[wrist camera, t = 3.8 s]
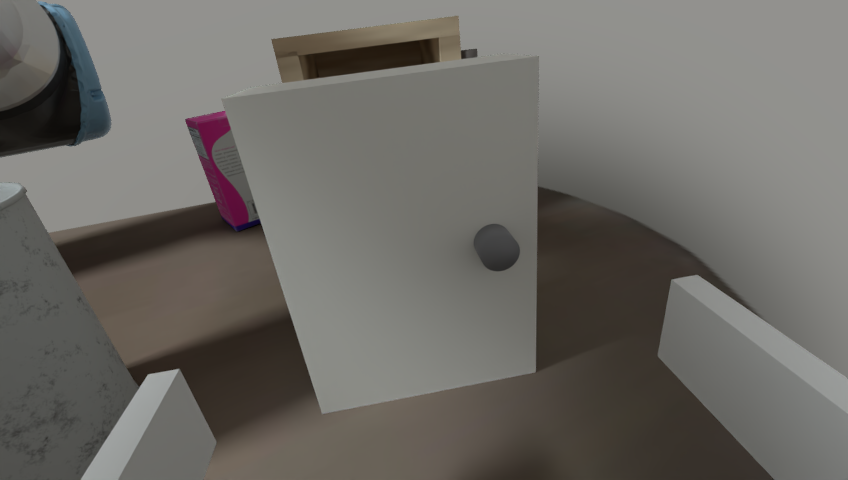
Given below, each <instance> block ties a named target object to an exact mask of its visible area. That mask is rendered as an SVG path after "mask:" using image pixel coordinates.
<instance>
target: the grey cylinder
mask: <svg viewBox="0 0 848 480" xmlns="http://www.w3.org/2000/svg"><path fill="white" fill-rule="evenodd" d="M26 192H27V190H26V189H25V188H24V187H23V186H22V185H21V184H19V183H10V182H6V183H0V480H81V478H82V477H83V475H84V473H85V472H86V470H87V469H88V467H89V466H90V464H91V463H92V461H93V459H94V458H95V456H96V455H97V453H98V452H99V450H100V449H101V447H102V445H103V444H104V442H105V441H106V439H107V438H108V436H109V434H110V433H111V431H112V430H113V428H114V427H115V425H116V424H117V422H118V420H119V419H120V417H121V416H122V414H123V413H124V411H125V410H126V408H127V406H128V405H129V403H130V402H131V400H132V399H133V397H134V395H135V394H136V392H137V391H138V389H139V388H140V387H139V386H138V385H137V383H136V382H134V380H133V378H132V377H131V375H130V373H129V371H128V370H127V368H126V366H125V365H124V363H123V361H122V359H121V358H120V356H119V354H118V352H117V351H116V349H115V347H114V346H113V344H112V342H111V340H110V339H109V337H108V335H107V334H106V332H105V330H104V328H103V327H102V325H101V323H100V321H99V320H98V318H97V316H96V315H95V313H94V311H93V309H92V308H91V306H90V304H89V303H88V301H87V299H86V297H85V296H84V294H83V292H82V291H81V289H80V287H79V285H78V284H77V282H76V280H75V278H74V277H73V275H72V273H71V272H70V270H69V268H68V266H67V265H66V263H65V261H64V260H63V258H62V256H61V254H60V253H59V251H58V249H57V247H56V246H55V244H54V242H53V241H52V239H51V237H50V235H49V234H48V232H47V230H46V229H45V227H44V225H43V224H42V222H41V220H40V218H39V217H38V215H37V213H36V211H35V210H34V208H33V206H32V205H31V203H30V201H29V199H28V198H27V196H26V194H25V193H26Z"/></svg>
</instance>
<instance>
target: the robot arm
mask: <svg viewBox="0 0 848 480" xmlns="http://www.w3.org/2000/svg"><path fill="white" fill-rule="evenodd" d="M110 128H111V118H110V113H109V109H108V105H107V102H106V99H105V96H104V94H103V92H102V91H101V85H100V82H99V78H98V75H97V72H96V69H95V67H94V64H93V61H92V59H91V56H90V54H89V51H88V49H87V46H86V44H85V41H84V39H83V37H82V34H81V32H80V30H79V27H78V25H77V23H76V21H75V19H74V18H73V16H72V15H71V14H70V12H69V11H68V10H67V9H66V8H64V7H63V6H61V5H57V4H47V3H45V2H37V1H36V0H0V157H6V156H11V155H16V154H22V153H27V152H32V151H38V150H44V149H49V148H54V147H59V146H65V145H66V146H76V145H79V144H80V143H81V142H83V141H87V140H92V139H96V138H100V137H103V136H105V135H106V134H107V133H108V132H109V130H110ZM658 357H659V358H660V359H661V360H662V362H663V363H664V364H665V365H666V366H667V367H668V368H669V369H670V370H671V371H672V372H673V373H674V374H675V375H676V376H677V377H678V378H679V379H680V381H681V382H682V383H683V384H684V385H685V386H686V387H687V388H688V389H689V390H690V391H691V392H692V393H693V394H694V395H695V396H696V397H697V398H698V400H699V401H700V402H701V403H702V404H703V405H704V406H705V407H706V408H707V409H708V410H709V411H710V412H711V413H712V414H713V415H714V416H715V417H716V419H717V420H718V421H719V422H720V423H721V424H722V425H723V426H724V427H725V428H726V429H727V430H728V431H729V432H730V433H731V434H732V435H733V436H734V438H735V439H736V440H737V441H738V442H739V443H740V444H741V445H742V446H743V447H744V448H745V449H746V450H747V451H748V452H749V453H750V454H751V455H752V457H753V458H754V459H755V460H756V461H757V462H758V463H759V464H760V465H761V466H762V467H763V468H764V469H765V470H766V471H767V472H768V473H769V474H770V476H771V477H772V478H773V479H774V480H848V378H847V377H845V376H844V375H842V374H841V373H839V372H838V371H836V370H835V369H833V368H832V367H831V366H829V365H828V364H826V363H825V362H823V361H822V360H820V359H819V358H818V357H816V356H815V355H813V354H812V353H810V352H809V351H807V350H806V349H805V348H803V347H802V346H800V345H799V344H797V343H796V342H794V341H793V340H791V339H790V338H789V337H787V336H785V335H784V334H783V333H781V332H780V331H778V330H777V329H775V328H774V327H773V326H771V325H770V324H768V323H767V322H765V321H764V320H762V319H761V318H760V317H758V316H757V315H755V314H754V313H752V312H751V311H749V310H748V309H746V308H745V307H744V306H742V305H741V304H739V303H738V302H736V301H735V300H733V299H732V298H730V297H729V296H728V295H726V294H725V293H723V292H722V291H720V290H719V289H717V288H716V287H714V286H713V285H712V284H710V283H709V282H707V281H706V280H704V279H703V278H701V277H700V276H698V275H694V276H688V277H683V278H677V279H672V280H671V284H670V290H669V295H668V301H667V306H666V312H665V317H664V323H663V328H662V334H661V339H660V345H659V350H658ZM216 443H217V442H216V440H215V438H214V436H213V434H212V432H211V430H210V428H209V426H208V424H207V422H206V420H205V418H204V416H203V414H202V412H201V410H200V408H199V406H198V404H197V402H196V400H195V398H194V396H193V394H192V392H191V390H190V388H189V386H188V384H187V382H186V381H185V379H184V377H183V375H182V373H181V371H180V369H175V370H170V371H164V372H159V373H153V374H148V375H147V377H146V378H145V380H144V381H143V383H142V385H141V386H140V388H139V389H138V391H137V392H136V394H135V395H134V397H133V399H132V400H131V402H130V403H129V405H128V406H127V408H126V410H125V411H124V413H123V414H122V416H121V417H120V419H119V420H118V422H117V424H116V425H115V427H114V428H113V430H112V431H111V433H110V434H109V436H108V438H107V439H106V441H105V442H104V444H103V445H102V447H101V449H100V450H99V452H98V453H97V455H96V456H95V458H94V459H93V461H92V463H91V464H90V466H89V467H88V469H87V470H86V472H85V473H84V475H83V477H82V478H81V480H203V479H204V477H205V474H206V471H207V468H208V465H209V463H210V460H211V457H212V454H213V451H214V449H215V446H216Z"/></svg>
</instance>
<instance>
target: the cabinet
mask: <svg viewBox="0 0 848 480" xmlns="http://www.w3.org/2000/svg"><path fill="white" fill-rule="evenodd" d="M272 44H273V48H274V52H275V55H276V60H277V63H278V68H279V72H280V75H281V79H282V83H287V82H294V81H302V80H309V79H317V78H324V77H332V76H339V75H347V74H354V73H362V72H369V71H377V70H384V69H392V68H399V67H407V66H414V65H422V64H429V63H437V62H444V61H452V60H459V59H467V58H474V57H477V49H469V50H462V51H461V48H460V33H459V19H458V16H454V17H445V18H438V19H429V20H421V21H413V22H405V23H397V24H390V25H382V26H374V27H365V28H358V29H350V30H342V31H334V32H326V33H318V34H311V35H302V36H294V37H287V38H278V39H272Z"/></svg>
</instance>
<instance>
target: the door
mask: <svg viewBox="0 0 848 480" xmlns="http://www.w3.org/2000/svg"><path fill="white" fill-rule="evenodd" d="M538 91H539V56H529V55H515V54H497V55H490V56H482V57H474V58H467V59H459V60H452V61H444V62H437V63H429V64H422V65H414V66H407V67H399V68H392V69H384V70H377V71H369V72H362V73H354V74H347V75H339V76H332V77H324V78H317V79H309V80H302V81H294V82H287V83H279V84H272V85H265V86H257V87H250V88H247V89H245V90H242V91H240V92H238V93H235V94H233V95H230V96H227V97H225V98H223V99H222V102H223V105H224V108H225V112H226V115H227V118H228V121H229V124H230V127H231V130H232V134H233V137H234V140H235V143H236V146H237V149H238V152H239V156H240V159H241V162H242V165H243V168H244V171H245V174H246V177H247V181H248V184H249V187H250V190H251V193H252V196H253V199H254V202H255V206H256V209H257V212H258V215H259V218H260V221H261V224H262V228H263V231H264V234H265V237H266V240H267V243H268V246H269V249H270V253H271V256H272V259H273V262H274V265H275V268H276V271H277V274H278V278H279V281H280V284H281V287H282V290H283V293H284V296H285V300H286V303H287V306H288V309H289V312H290V315H291V318H292V321H293V325H294V328H295V331H296V334H297V337H298V340H299V343H300V346H301V350H302V353H303V356H304V359H305V362H306V365H307V368H308V371H309V375H310V378H311V381H312V384H313V387H314V390H315V393H316V397H317V400H318V403H319V406H320V409H321V412H322V414H325V413H330V412H335V411H341V410H346V409H351V408H356V407H361V406H366V405H371V404H376V403H382V402H387V401H392V400H397V399H402V398H407V397H412V396H417V395H423V394H428V393H433V392H438V391H443V390H448V389H453V388H458V387H463V386H469V385H474V384H479V383H484V382H489V381H494V380H499V379H504V378H510V377H515V376H520V375H525V374H530V373H535V372H536V304H537V202H538V100H539V99H538V98H539V92H538Z"/></svg>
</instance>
